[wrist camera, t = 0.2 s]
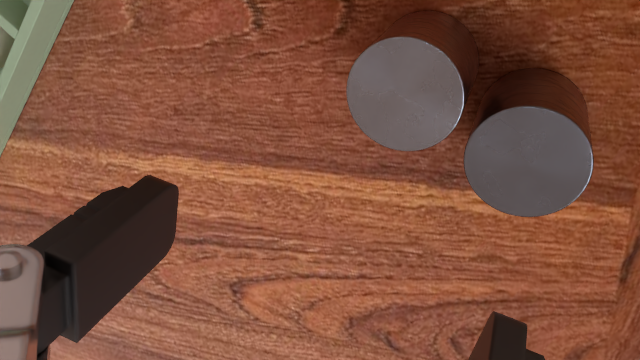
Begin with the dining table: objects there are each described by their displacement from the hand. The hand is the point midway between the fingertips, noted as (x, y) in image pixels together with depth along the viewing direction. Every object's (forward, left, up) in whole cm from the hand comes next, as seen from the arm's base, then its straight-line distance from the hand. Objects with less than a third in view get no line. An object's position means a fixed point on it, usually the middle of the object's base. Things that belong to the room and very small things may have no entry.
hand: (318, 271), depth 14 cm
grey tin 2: (+5, +3, -21) cm, 22 cm away
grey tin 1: (0, -1, -21) cm, 21 cm away
